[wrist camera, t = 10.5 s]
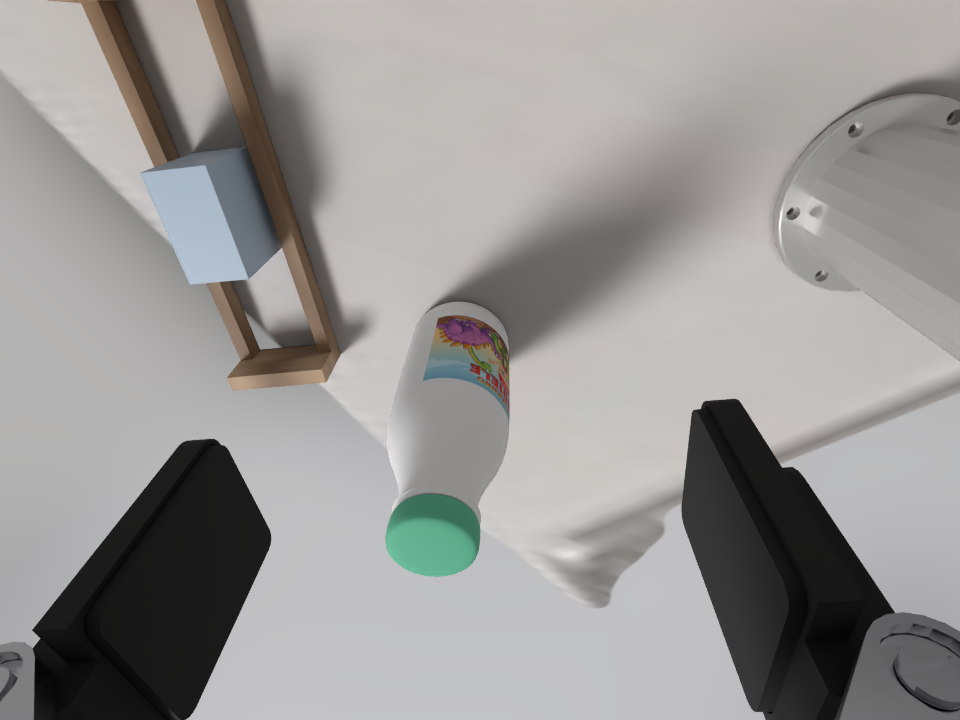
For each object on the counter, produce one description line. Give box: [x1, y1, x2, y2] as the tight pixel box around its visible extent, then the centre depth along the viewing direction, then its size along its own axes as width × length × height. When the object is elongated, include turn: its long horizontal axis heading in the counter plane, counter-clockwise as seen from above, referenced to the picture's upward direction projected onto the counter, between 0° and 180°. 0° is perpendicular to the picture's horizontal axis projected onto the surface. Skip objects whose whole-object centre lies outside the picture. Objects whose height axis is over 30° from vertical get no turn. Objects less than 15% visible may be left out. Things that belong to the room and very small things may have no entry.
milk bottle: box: [386, 302, 509, 577], centre depth 33 cm, size 8×8×20 cm
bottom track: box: [48, 0, 340, 391], centre depth 34 cm, size 8×26×4 cm, turn 7°
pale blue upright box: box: [140, 146, 282, 285], centre depth 34 cm, size 4×7×6 cm, turn 7°
